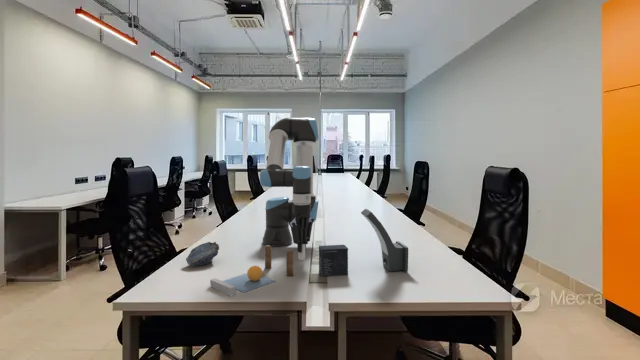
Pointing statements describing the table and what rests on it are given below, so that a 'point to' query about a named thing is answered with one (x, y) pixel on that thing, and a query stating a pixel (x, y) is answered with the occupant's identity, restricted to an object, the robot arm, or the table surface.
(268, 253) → the post
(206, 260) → the rock
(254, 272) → the ball
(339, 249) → the box
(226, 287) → the wall
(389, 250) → the grey curved piece
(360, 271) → the table surface
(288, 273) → the post
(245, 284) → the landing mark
